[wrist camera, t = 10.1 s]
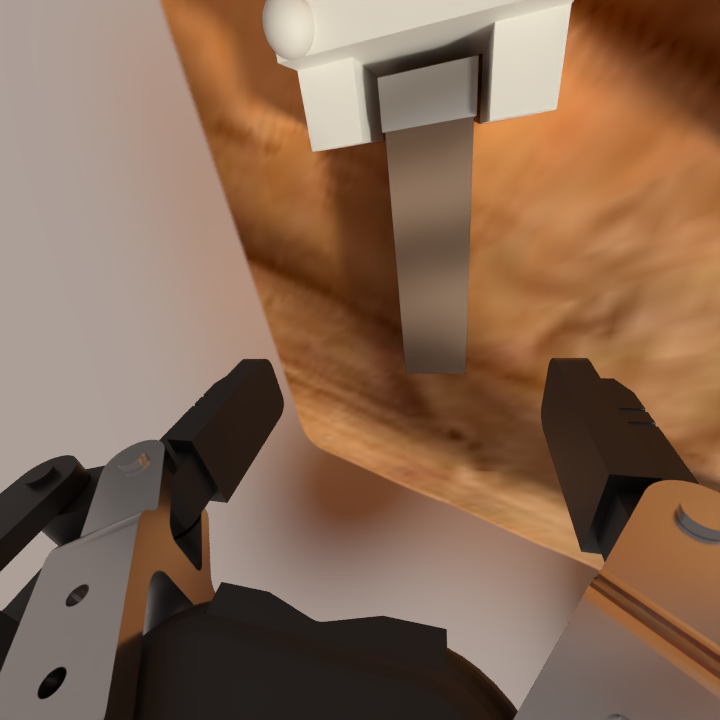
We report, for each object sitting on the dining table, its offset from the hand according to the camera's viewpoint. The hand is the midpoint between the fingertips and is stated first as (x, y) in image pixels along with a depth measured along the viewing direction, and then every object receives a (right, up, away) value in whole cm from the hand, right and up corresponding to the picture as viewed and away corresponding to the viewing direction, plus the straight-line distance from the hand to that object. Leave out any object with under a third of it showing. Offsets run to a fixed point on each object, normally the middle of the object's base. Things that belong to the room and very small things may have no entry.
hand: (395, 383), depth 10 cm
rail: (+4, +9, +13) cm, 16 cm away
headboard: (+3, +16, +8) cm, 18 cm away
